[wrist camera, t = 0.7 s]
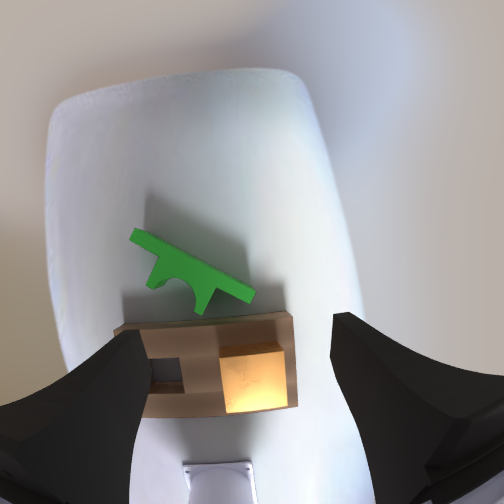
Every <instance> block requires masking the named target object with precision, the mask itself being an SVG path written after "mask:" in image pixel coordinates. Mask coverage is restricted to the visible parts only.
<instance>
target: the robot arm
mask: <svg viewBox="0 0 504 504" xmlns="http://www.w3.org/2000/svg"><path fill="white" fill-rule="evenodd" d="M330 359H331V363H332V367H333V370H334V373H335V377H336V380H337V382H338V384H339V386H340V389H341V391H342V393H343V395H344V398H345V400H346V402H347V404H348V406H349V409H350V411H351V413H352V415H353V418H354V420H355V422H356V425H357V427H358V430H359V433H360V436H361V440H362V443H363V447H364V450H365V454H366V458H367V462H368V466H369V470H370V475H371V479H372V484H373V489H374V495H375V501H376V504H504V376H501V375H491V374H483V373H478V372H473V371H468V370H464V369H460V368H456V367H453V366H450V365H447V364H444V363H441V362H438V361H435V360H433V359H430V358H428V357H426V356H423V355H421V354H419V353H416V352H414V351H412V350H410V349H409V348H407V347H405V346H403V345H401V344H399V343H398V342H396V341H394V340H392V339H391V338H389V337H387V336H386V335H384V334H382V333H381V332H379V331H378V330H376V329H375V328H373V327H372V326H370V325H369V324H367V323H366V322H364V321H363V320H361V319H360V318H358V317H357V316H355V315H353V314H352V313H350V312H344V313H337V314H333V326H332V338H331V349H330ZM151 376H152V368H151V365H150V362H149V359H148V356H147V353H146V350H145V347H144V344H143V341H142V337H141V334H140V331H139V329H134V330H123V331H122V332H121V333H119V334H118V335H117V336H115V337H114V338H113V339H112V340H110V341H109V342H108V343H107V344H105V345H104V346H103V347H102V348H101V349H99V350H98V351H97V352H96V353H95V354H93V355H92V356H91V357H90V358H88V359H87V360H86V361H84V362H83V363H82V364H80V365H79V366H78V367H76V368H75V369H74V370H72V371H71V372H70V373H68V374H67V375H65V376H64V377H62V378H61V379H59V380H57V381H56V382H54V383H53V384H51V385H50V386H47V387H45V388H43V389H42V390H39V391H37V392H35V393H33V394H31V395H29V396H27V397H25V398H22V399H20V400H17V401H15V402H12V403H9V404H6V405H3V406H0V504H129V486H130V473H131V463H132V455H133V448H134V443H135V439H136V435H137V431H138V428H139V424H140V421H141V418H142V414H143V411H144V408H145V404H146V401H147V398H148V394H149V389H150V383H151ZM247 468H248V469H247ZM182 470H183V473H184V476H185V479H186V483H187V486H188V489H189V492H190V495H189V503H188V504H258V503H257V497H256V490H255V483H254V476H253V469H252V463H251V462H248V461H246V462H236V463H222V464H198V465H183V467H182ZM187 471H189V472H187Z"/></svg>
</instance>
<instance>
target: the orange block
mask: <svg viewBox="0 0 504 504" xmlns="http://www.w3.org/2000/svg"><path fill="white" fill-rule="evenodd" d="M219 362H220V369H221V377H222V384H223V391H224V398H225V405H226V411H227V413H233V412H243V411H253V410H261V409H269V408H276V407H282V406H288V405H287V389H286V374H285V359H284V350H283V349H282V347H281V346H280V344H279V343H278V341H273V342H265V343H256V344H247V345H237V346H227V347H220V352H219Z"/></svg>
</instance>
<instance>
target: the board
mask: <svg viewBox="0 0 504 504" xmlns="http://www.w3.org/2000/svg"><path fill="white" fill-rule="evenodd" d="M134 329H139V331H140V334H141V337H142V341H143V344H144V347H145V350H146V353H147V356H148V359H149V362H150V365H151V361H150V359H153V358H179V361H180V367H181V373H182V379H183V381H176V382H155V381H154V376H153V371H152V376H151V383H150V389H149V394H148V398H147V401H146V404H145V408H144V411H143V414H142V418H195V417H214V416H228V415H239V414H249V413H257V412H265V411H273V410H279V409H286V408H292V407H298V394H297V375H296V358H295V342H294V327H293V317H292V316H291V315H290V314H289V313H288V312H287V311H281V312H272V313H264V314H255V315H245V316H235V317H224V318H213V319H201V320H188V321H173V322H156V323H135V324H123V325H121V326H120V327H118V328H117V329H115V330H114V331H113V332H114V337H115V336H117V335H118V334H119V333H121V332H122V331H123V330H134ZM273 341H278V343H279V344H280V346H281V347H282V349H283V350H284V359H285V374H286V389H287V405H288V406H282V407H276V408H269V409H261V410H253V411H243V412H233V413H227V411H226V405H225V398H224V391H223V384H222V377H221V369H220V362H219V352H220V347H227V346H237V345H247V344H256V343H265V342H273ZM151 368H152V366H151Z"/></svg>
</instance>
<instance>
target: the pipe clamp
mask: <svg viewBox="0 0 504 504" xmlns="http://www.w3.org/2000/svg"><path fill="white" fill-rule="evenodd" d="M129 240H130V241H132V242H134V243H135V244H137V245H139V246H141V247H142V248H144V249H146V250H148V251H150V252H151V253H153V254H155V255H157V256H159V258H158V260H157V262H156V264H155V266H154V269H153V271H152V273H151V275H150V277H149V279H148V281H147V283H146V286H148V287H149V288H151V289H153V290H154V289H156V288H158V287H161V286H163V285H164V284H165V283H166V281H167V280H168V279H169V278H179V279H182V280H184V281H185V282H187V283H188V284H189V285H190V286H191V288H192V289H193V291H194V293H195V297H196V306H195V309H194V312H196V313H198V314H200V315H201V316H202V314H203V312H204V310H205V308H206V307H207V305H208V303H209V301H210V299H211V297H212V295H213V293H214V291H215V289H216V287H217V288H219V289H221V290H223V291H225V292H227V293H229V294H231V295H233V296H235V297H236V298H238V299H240V300H242V301H244V302H246V303H248V304H250V302H251V301H252V299H253V297H254V295H255V293H256V291H255V290H254V289H253V288H252V287H251V286H249V285H247V284H245V283H243V282H241V281H239V280H238V279H236V278H234V277H232V276H230V275H228V274H226V273H224V272H222V271H220V270H218V269H216V268H214V267H212V266H211V265H209V264H207V263H205V262H203V261H201V260H199V259H197V258H195V257H193V256H192V255H190V254H188V253H186V252H184V251H182V250H180V249H178V248H177V247H175V246H173V245H171V244H169V243H167V242H165V241H164V240H162V239H160V238H158V237H156V236H154V235H152V234H151V233H149V232H146V231H143V230H140V229H137V228H135V229H134V231H133V233H132V235H131V237H130V239H129Z"/></svg>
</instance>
